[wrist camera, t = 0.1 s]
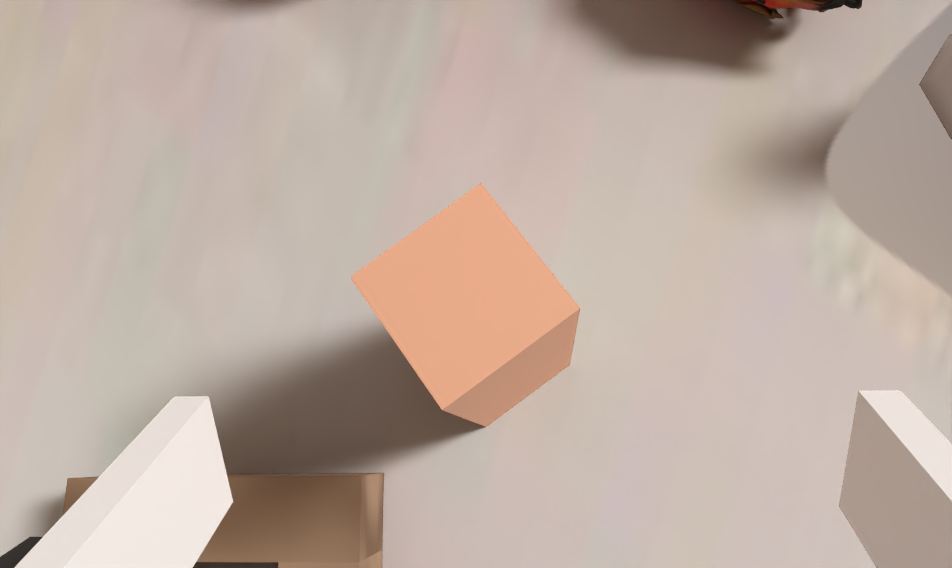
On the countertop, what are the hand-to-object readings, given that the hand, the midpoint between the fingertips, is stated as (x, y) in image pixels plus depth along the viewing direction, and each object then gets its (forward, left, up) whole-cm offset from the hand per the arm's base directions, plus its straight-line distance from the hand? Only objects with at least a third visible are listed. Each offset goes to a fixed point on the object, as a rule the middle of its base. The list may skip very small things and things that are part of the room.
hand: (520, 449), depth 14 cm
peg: (+4, +2, -15) cm, 16 cm away
